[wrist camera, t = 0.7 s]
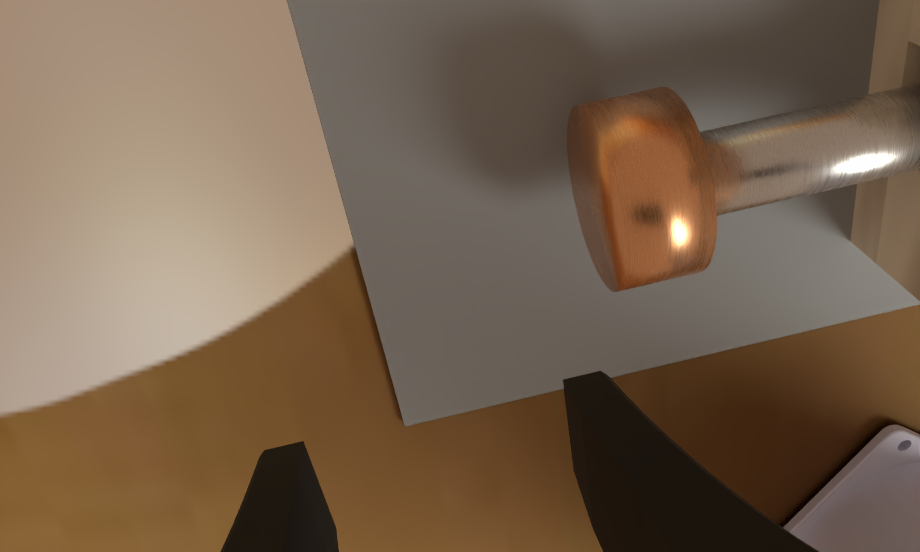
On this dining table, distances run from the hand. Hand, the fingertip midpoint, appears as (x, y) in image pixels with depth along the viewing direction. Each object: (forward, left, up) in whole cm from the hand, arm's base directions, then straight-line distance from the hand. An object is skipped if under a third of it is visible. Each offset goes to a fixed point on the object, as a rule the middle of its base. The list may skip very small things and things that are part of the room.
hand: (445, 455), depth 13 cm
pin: (-7, -6, -9) cm, 13 cm away
